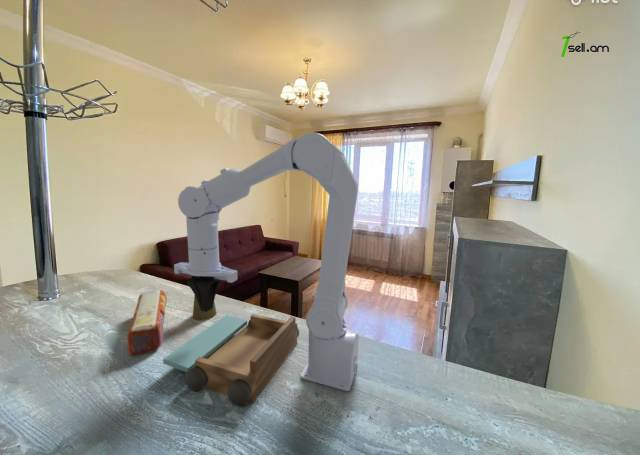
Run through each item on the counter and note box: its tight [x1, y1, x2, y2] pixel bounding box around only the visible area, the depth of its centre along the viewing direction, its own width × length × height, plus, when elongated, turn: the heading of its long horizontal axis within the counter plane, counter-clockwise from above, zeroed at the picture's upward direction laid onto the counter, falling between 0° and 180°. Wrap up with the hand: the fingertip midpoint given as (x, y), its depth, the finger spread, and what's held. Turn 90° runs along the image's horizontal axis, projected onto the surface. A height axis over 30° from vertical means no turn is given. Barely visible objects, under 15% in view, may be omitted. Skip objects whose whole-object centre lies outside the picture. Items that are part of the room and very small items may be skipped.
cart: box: [183, 313, 300, 408], centre depth 54 cm, size 13×20×7 cm, turn 161°
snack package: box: [126, 289, 168, 357], centre depth 64 cm, size 21×7×7 cm, turn 27°
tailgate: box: [162, 314, 248, 373], centre depth 57 cm, size 2×18×7 cm
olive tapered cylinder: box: [192, 295, 217, 321], centre depth 72 cm, size 6×6×11 cm
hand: (206, 309), depth 56 cm, fingers closed
